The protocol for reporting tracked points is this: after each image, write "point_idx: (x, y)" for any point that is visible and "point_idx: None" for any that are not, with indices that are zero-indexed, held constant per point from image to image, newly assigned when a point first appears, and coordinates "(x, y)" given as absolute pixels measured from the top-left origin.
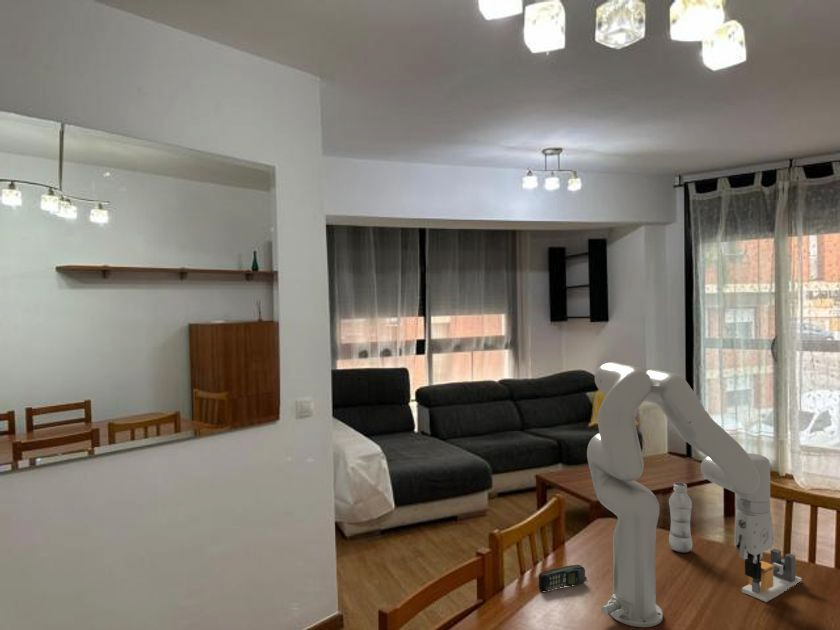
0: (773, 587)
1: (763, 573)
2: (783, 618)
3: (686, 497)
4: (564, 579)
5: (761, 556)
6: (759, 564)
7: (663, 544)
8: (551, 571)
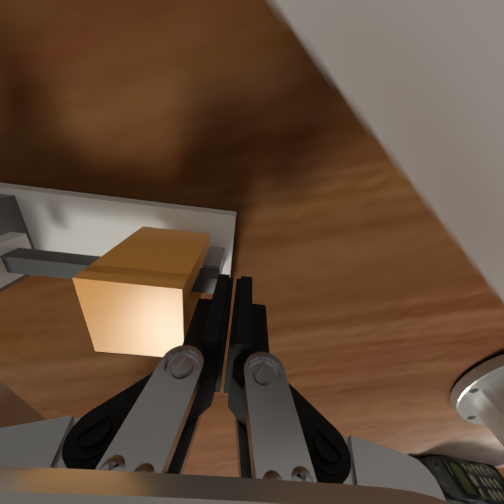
0: (128, 227)
1: (191, 278)
2: (317, 118)
3: None
4: (474, 481)
5: (165, 385)
6: (221, 334)
7: None
8: None
